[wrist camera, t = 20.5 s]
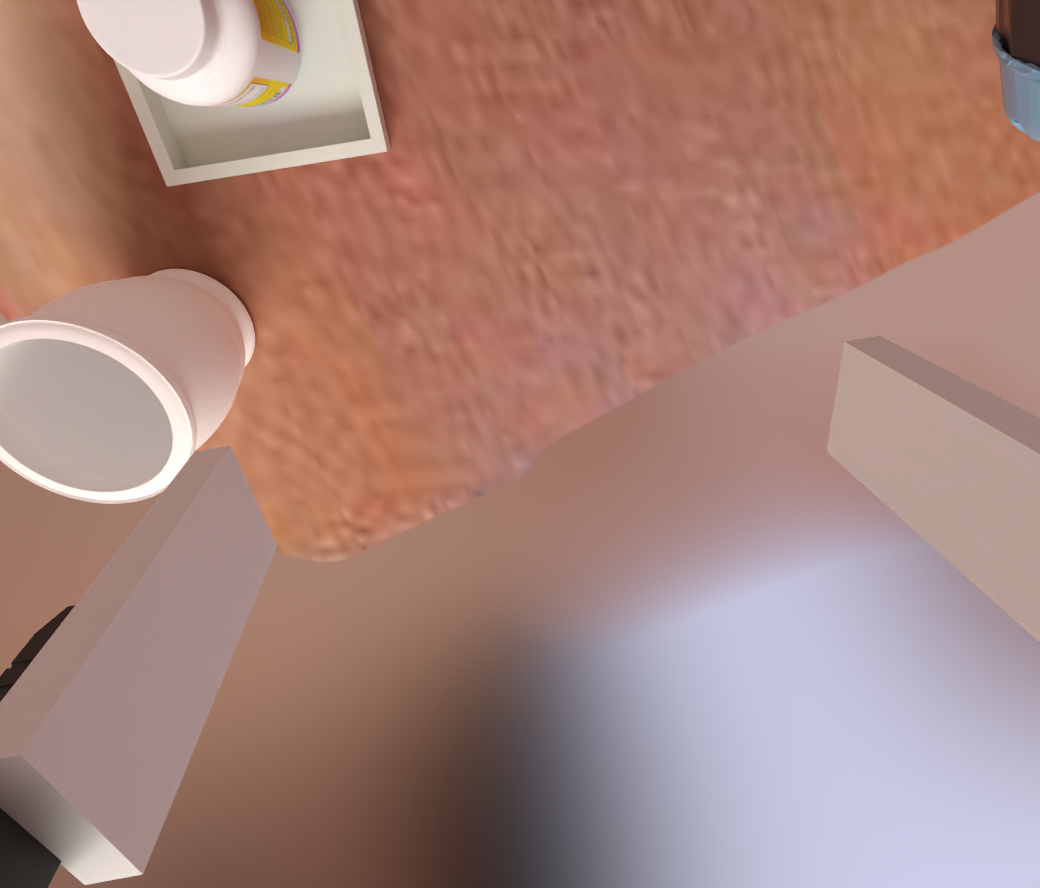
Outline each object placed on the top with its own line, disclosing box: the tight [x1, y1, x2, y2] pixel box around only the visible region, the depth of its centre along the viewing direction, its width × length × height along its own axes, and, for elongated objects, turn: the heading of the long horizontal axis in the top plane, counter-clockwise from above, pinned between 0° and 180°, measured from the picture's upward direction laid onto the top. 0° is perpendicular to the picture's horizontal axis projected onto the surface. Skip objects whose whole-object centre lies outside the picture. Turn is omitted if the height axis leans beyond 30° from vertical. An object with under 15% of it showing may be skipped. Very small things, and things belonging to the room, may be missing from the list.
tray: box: [113, 0, 391, 187], centre depth 32 cm, size 14×14×2 cm
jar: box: [0, 269, 255, 504], centre depth 35 cm, size 11×10×15 cm
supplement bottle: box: [77, 0, 302, 107], centre depth 28 cm, size 7×7×13 cm
